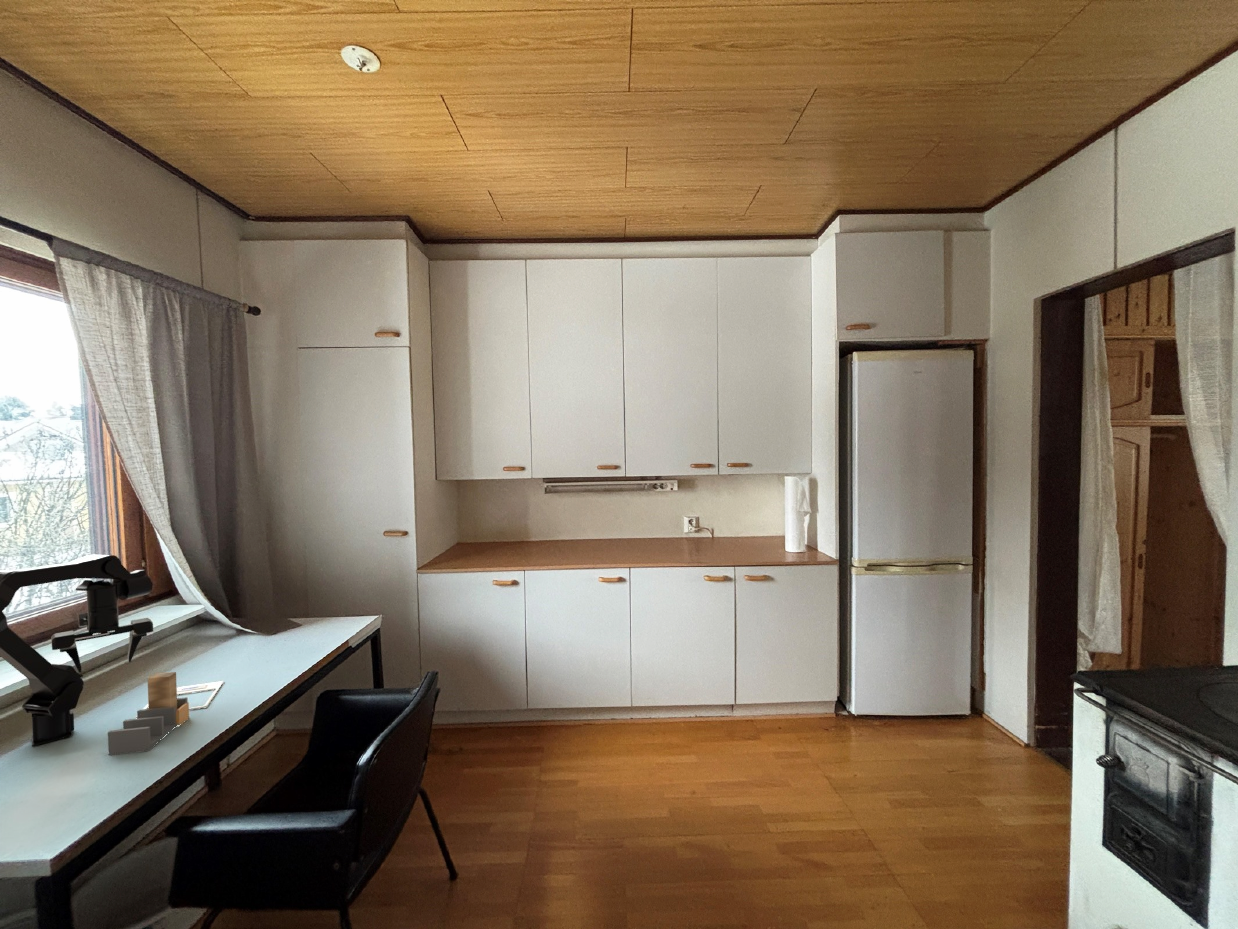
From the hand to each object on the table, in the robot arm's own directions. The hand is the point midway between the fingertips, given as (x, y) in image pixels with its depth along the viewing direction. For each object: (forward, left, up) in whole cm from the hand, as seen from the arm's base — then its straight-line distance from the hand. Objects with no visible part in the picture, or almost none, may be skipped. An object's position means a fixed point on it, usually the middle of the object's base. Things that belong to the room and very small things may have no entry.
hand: (105, 667), depth 145 cm
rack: (+6, -22, -12) cm, 26 cm away
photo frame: (+15, -3, -13) cm, 20 cm away
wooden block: (+9, -18, -11) cm, 23 cm away
